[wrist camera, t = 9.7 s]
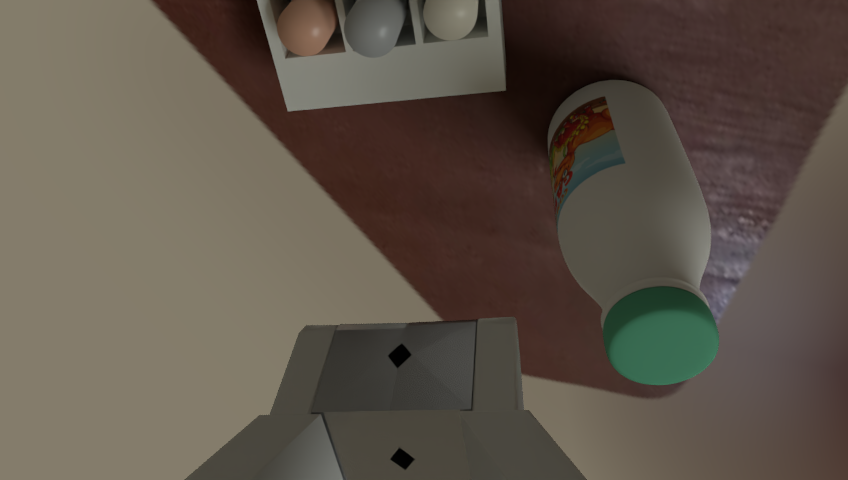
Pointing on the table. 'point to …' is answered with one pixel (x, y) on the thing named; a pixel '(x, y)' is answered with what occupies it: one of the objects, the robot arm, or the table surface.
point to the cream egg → (450, 17)
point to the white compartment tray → (390, 61)
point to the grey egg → (375, 26)
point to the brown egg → (307, 25)
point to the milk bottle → (634, 229)
